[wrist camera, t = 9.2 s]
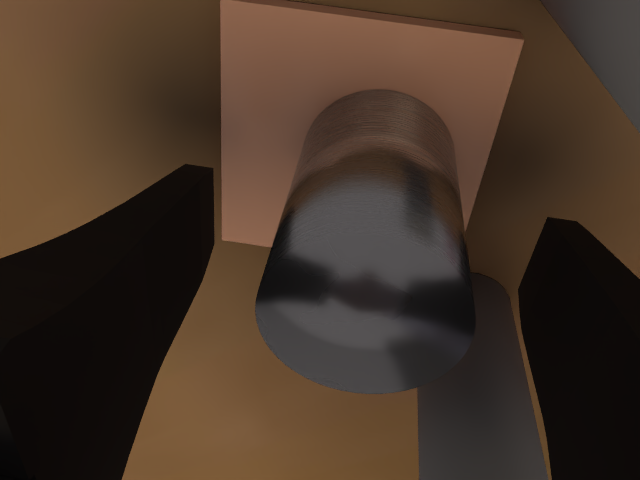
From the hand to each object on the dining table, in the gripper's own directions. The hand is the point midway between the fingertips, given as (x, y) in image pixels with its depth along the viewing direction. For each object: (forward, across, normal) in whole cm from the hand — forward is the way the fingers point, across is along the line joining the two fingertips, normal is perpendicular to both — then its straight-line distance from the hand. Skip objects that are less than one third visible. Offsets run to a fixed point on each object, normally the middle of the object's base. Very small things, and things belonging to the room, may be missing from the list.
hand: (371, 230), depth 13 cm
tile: (+4, +1, 0) cm, 4 cm away
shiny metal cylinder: (+3, 0, 0) cm, 3 cm away
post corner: (+4, -4, +5) cm, 8 cm away
